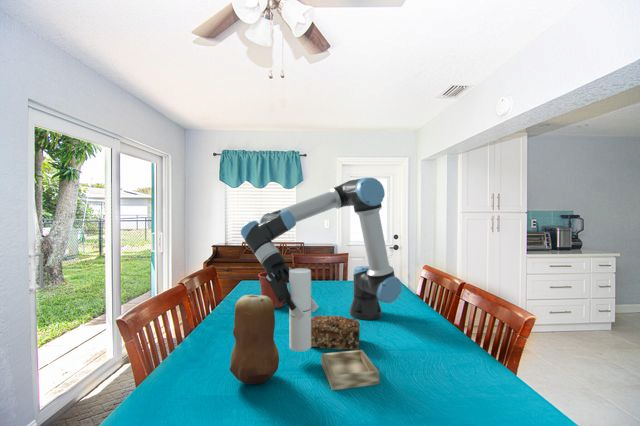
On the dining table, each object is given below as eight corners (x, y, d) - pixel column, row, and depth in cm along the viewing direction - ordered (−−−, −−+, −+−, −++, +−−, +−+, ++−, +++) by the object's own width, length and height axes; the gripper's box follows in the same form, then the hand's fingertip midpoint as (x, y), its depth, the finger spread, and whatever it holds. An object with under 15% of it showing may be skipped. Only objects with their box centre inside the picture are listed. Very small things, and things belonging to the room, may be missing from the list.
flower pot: (296, 303, 160) (296, 273, 160) (275, 312, 146) (275, 279, 146) (272, 298, 169) (272, 269, 168) (251, 306, 155) (251, 275, 154)
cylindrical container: (308, 352, 94) (307, 273, 94) (286, 350, 96) (286, 272, 95) (313, 342, 101) (313, 268, 101) (293, 340, 103) (292, 267, 102)
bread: (307, 348, 109) (307, 321, 108) (312, 336, 119) (312, 311, 119) (359, 352, 106) (359, 324, 106) (359, 339, 117) (359, 313, 116)
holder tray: (362, 360, 100) (362, 349, 100) (379, 384, 86) (379, 372, 86) (321, 364, 97) (321, 353, 97) (332, 390, 83) (332, 377, 83)
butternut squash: (268, 364, 97) (268, 287, 97) (286, 384, 86) (286, 297, 85) (224, 376, 90) (224, 293, 89) (238, 401, 78) (238, 306, 78)
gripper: (283, 261, 115) (318, 310, 106) (243, 270, 98) (282, 330, 89) (294, 248, 112) (331, 298, 103) (255, 255, 95) (296, 316, 87)
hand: (308, 313), depth 96 cm, fingers closed on cylindrical container, 7 cm apart
